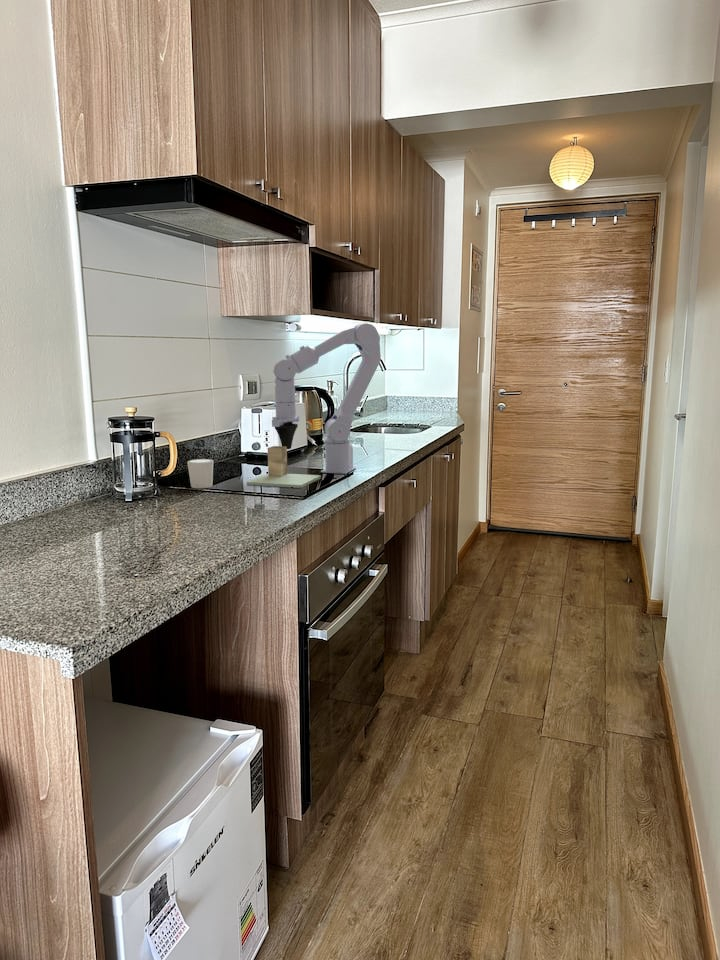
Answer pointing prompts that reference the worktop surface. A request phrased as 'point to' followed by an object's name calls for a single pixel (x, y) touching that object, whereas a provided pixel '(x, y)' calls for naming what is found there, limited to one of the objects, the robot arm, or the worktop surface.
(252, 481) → the cutting board
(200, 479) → the light grey cup
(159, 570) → the worktop surface
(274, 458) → the maple block
